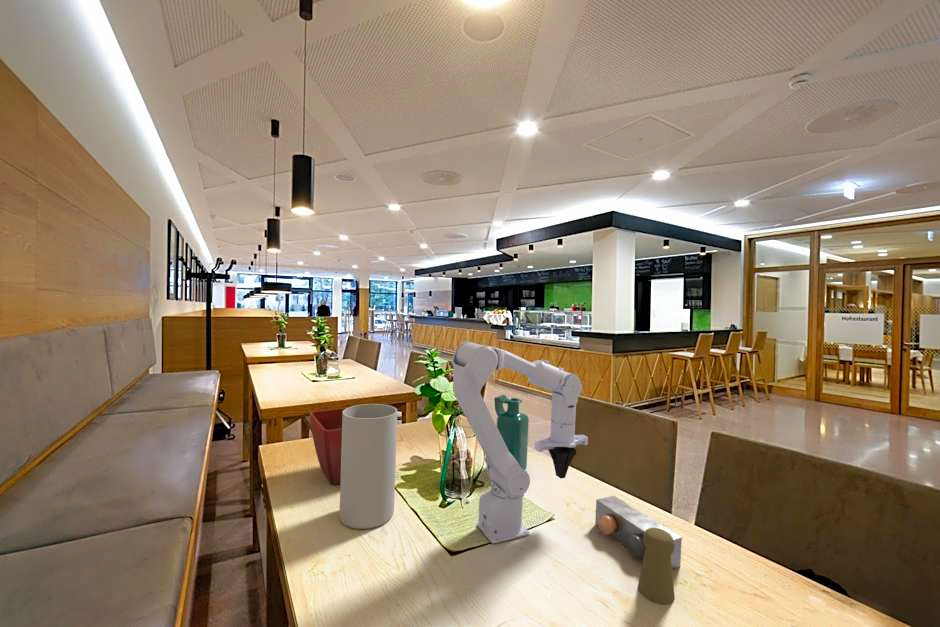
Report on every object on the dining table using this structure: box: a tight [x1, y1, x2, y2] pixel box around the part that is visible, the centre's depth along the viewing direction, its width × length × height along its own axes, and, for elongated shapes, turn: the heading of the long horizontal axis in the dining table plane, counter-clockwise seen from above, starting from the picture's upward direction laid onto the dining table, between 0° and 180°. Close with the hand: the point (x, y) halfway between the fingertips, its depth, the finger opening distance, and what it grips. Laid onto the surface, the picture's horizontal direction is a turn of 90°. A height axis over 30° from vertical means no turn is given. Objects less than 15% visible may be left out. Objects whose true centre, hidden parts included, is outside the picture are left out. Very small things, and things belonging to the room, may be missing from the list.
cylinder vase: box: [339, 403, 398, 530], centre depth 92 cm, size 12×12×25 cm
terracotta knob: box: [598, 515, 617, 535], centre depth 88 cm, size 7×4×4 cm, turn 115°
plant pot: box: [309, 407, 347, 486], centre depth 114 cm, size 19×19×17 cm
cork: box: [637, 528, 676, 605], centre depth 71 cm, size 6×6×11 cm
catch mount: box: [594, 495, 683, 571], centre depth 85 cm, size 6×18×6 cm, turn 25°
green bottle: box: [493, 394, 530, 470], centre depth 122 cm, size 10×8×22 cm
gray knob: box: [626, 534, 646, 557], centre depth 81 cm, size 7×4×4 cm, turn 115°
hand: (560, 476), depth 95 cm, fingers closed
